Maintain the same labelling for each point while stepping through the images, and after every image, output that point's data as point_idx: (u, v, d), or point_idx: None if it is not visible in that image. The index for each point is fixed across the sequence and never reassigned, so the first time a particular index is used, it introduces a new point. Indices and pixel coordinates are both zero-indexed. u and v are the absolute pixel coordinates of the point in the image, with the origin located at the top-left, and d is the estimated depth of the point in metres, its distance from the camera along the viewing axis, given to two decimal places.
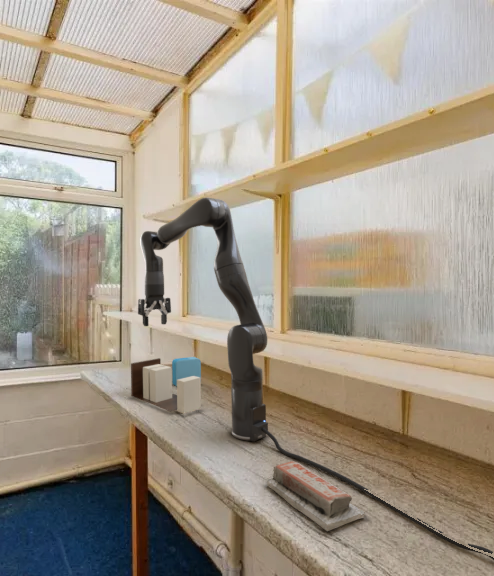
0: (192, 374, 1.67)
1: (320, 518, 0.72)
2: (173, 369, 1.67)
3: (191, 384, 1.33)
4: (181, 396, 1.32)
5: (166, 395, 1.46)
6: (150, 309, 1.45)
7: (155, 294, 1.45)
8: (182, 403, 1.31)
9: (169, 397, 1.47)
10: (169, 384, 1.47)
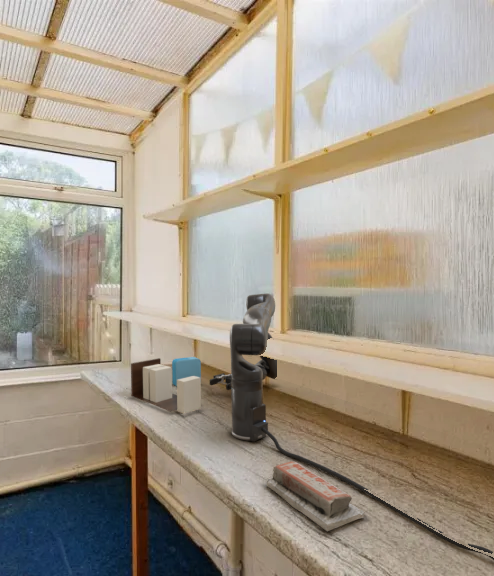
0: (192, 374, 1.67)
1: (320, 518, 0.72)
2: (173, 369, 1.67)
3: (191, 384, 1.33)
4: (181, 396, 1.32)
5: (166, 395, 1.46)
6: (223, 375, 1.51)
7: None
8: (182, 403, 1.31)
9: (169, 397, 1.47)
10: (169, 384, 1.47)
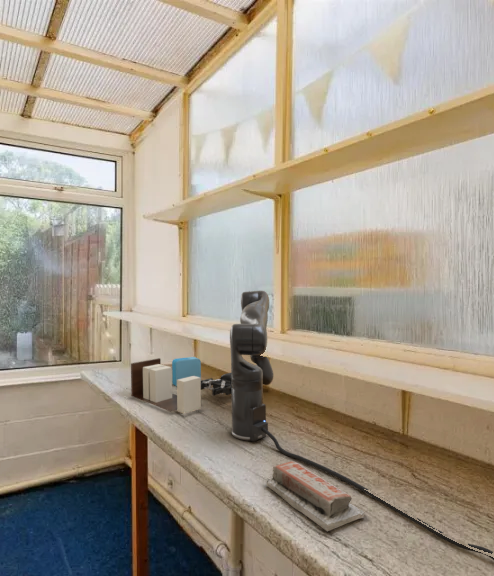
0: (192, 374, 1.67)
1: (320, 518, 0.72)
2: (173, 369, 1.67)
3: (191, 384, 1.33)
4: (181, 396, 1.32)
5: (166, 395, 1.46)
6: (210, 380, 1.46)
7: None
8: (182, 403, 1.31)
9: (169, 397, 1.47)
10: (169, 384, 1.47)
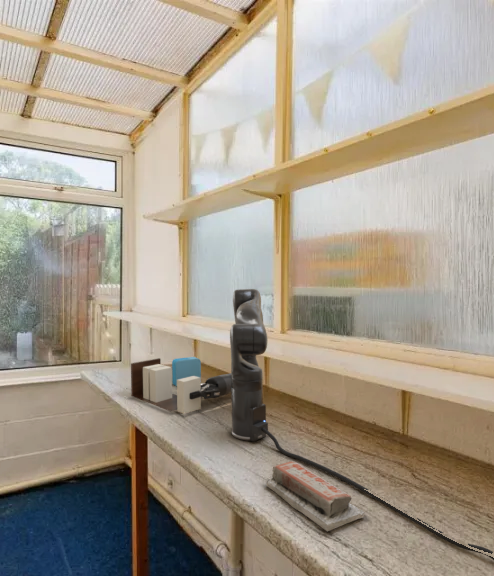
0: (192, 374, 1.67)
1: (320, 518, 0.72)
2: (173, 369, 1.67)
3: (191, 384, 1.33)
4: (181, 396, 1.32)
5: (166, 395, 1.46)
6: None
7: (208, 378, 1.43)
8: (182, 403, 1.31)
9: (169, 397, 1.47)
10: (169, 384, 1.47)
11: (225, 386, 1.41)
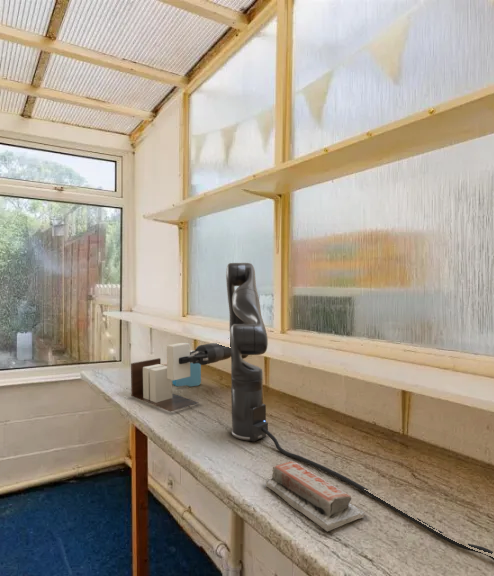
0: (192, 374, 1.67)
1: (320, 518, 0.72)
2: None
3: (181, 349, 1.37)
4: (170, 361, 1.36)
5: (166, 395, 1.46)
6: None
7: (198, 346, 1.47)
8: (172, 367, 1.35)
9: (169, 397, 1.47)
10: (169, 384, 1.47)
11: (214, 353, 1.45)
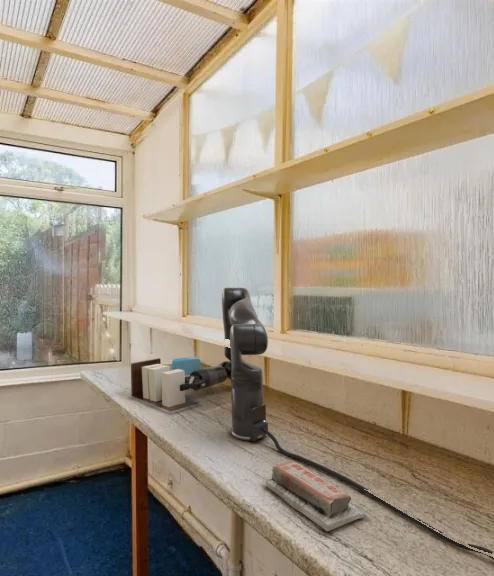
0: None
1: (320, 519, 0.72)
2: (173, 369, 1.67)
3: (176, 376, 1.40)
4: (165, 388, 1.38)
5: None
6: None
7: (193, 371, 1.50)
8: (166, 394, 1.38)
9: None
10: None
11: (209, 378, 1.48)
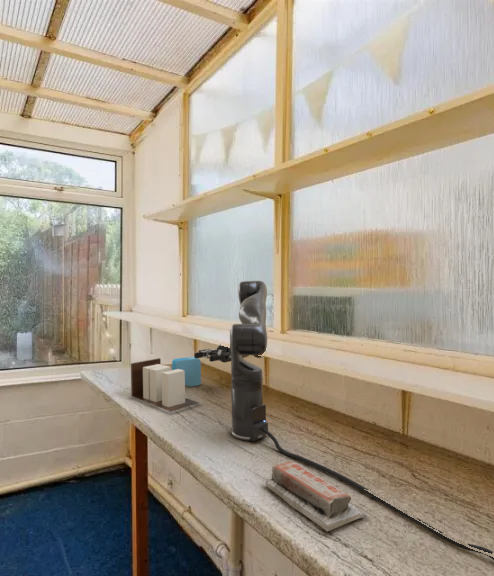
0: (192, 374, 1.67)
1: (320, 519, 0.72)
2: (173, 369, 1.67)
3: (176, 376, 1.40)
4: (165, 388, 1.38)
5: None
6: (207, 350, 1.57)
7: (219, 345, 1.60)
8: (166, 394, 1.38)
9: None
10: None
11: None
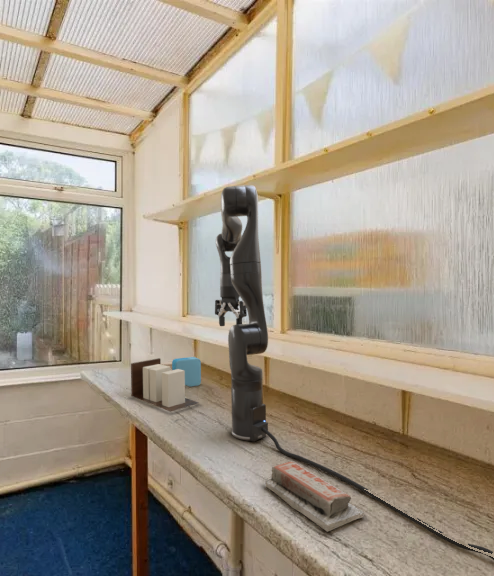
0: (192, 374, 1.67)
1: (320, 519, 0.72)
2: (173, 369, 1.67)
3: (176, 376, 1.40)
4: (165, 388, 1.38)
5: None
6: (220, 310, 1.50)
7: (220, 296, 1.47)
8: (166, 394, 1.38)
9: None
10: None
11: None
